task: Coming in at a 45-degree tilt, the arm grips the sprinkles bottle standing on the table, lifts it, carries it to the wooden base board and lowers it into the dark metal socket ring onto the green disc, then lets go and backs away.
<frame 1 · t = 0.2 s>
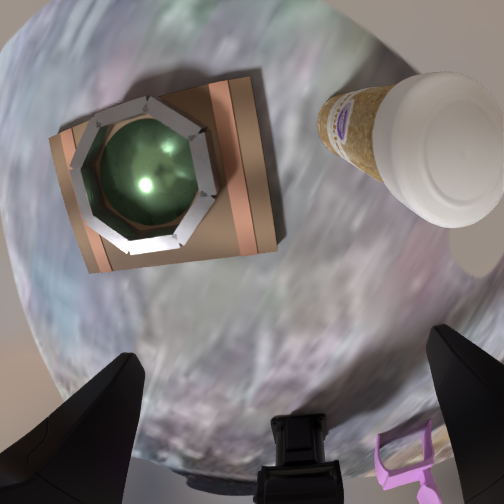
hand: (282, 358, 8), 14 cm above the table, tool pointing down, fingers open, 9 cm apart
wooden base board: (154, 183, 21), on the table
sprinkles bottle: (348, 126, 18), on the table
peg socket: (151, 170, 20), resting on wooden base board
toy chair: (400, 435, 34), on the table
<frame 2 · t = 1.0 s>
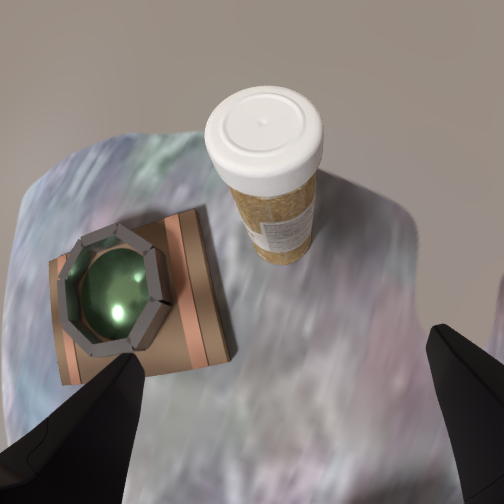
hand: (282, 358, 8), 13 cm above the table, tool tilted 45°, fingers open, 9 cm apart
wooden base board: (123, 306, 23), on the table
sprinkles bottle: (282, 238, 23), on the table
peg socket: (122, 295, 24), resting on wooden base board
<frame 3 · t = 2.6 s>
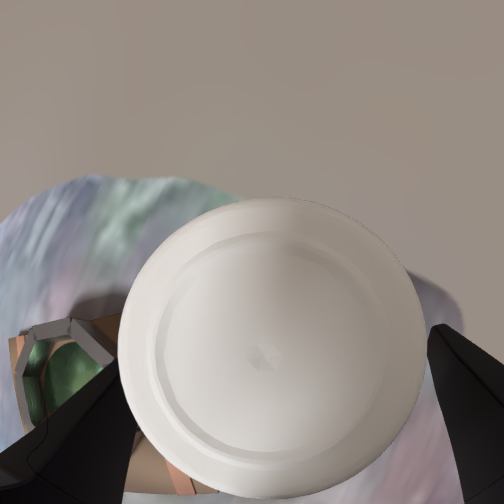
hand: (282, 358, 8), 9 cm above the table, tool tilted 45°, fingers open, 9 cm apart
wooden base board: (92, 409, 16), on the table
sprinkles bottle: (289, 345, 16), on the table
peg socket: (89, 396, 17), resting on wooden base board
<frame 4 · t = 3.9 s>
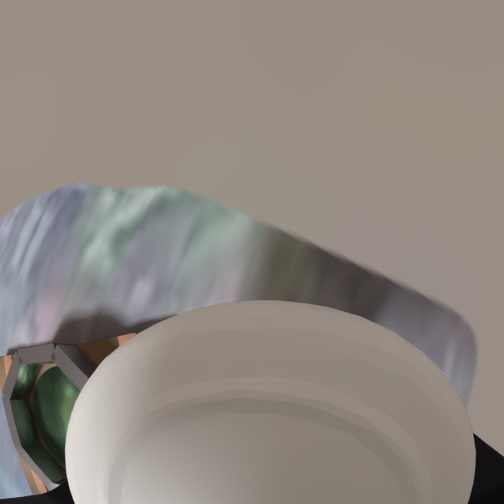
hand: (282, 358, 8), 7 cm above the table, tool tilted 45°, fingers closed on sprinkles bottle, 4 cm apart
wooden base board: (83, 434, 15), on the table
sprinkles bottle: (290, 376, 15), on the table, touching gripper
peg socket: (79, 420, 15), resting on wooden base board
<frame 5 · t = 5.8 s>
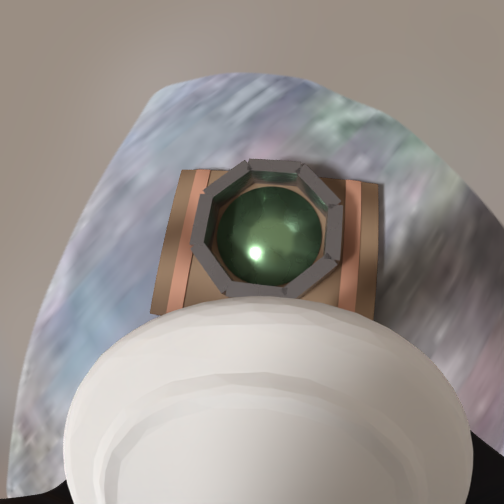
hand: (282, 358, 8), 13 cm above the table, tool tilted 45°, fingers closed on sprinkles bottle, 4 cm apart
wooden base board: (268, 251, 23), on the table
sprinkles bottle: (292, 375, 15), point 6 cm above the table, touching gripper
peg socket: (269, 238, 23), resting on wooden base board
when the fingers open (9 cm above the table, at t = 8.0 s): sprinkles bottle stays where it is, resting on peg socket.
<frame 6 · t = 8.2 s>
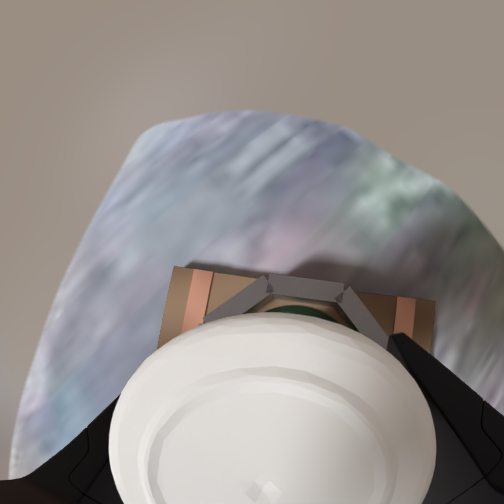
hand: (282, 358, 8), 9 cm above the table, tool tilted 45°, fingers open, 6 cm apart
wooden base board: (288, 388, 16), on the table
sprinkles bottle: (292, 377, 15), point 1 cm above the table, touching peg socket
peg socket: (291, 371, 16), resting on wooden base board
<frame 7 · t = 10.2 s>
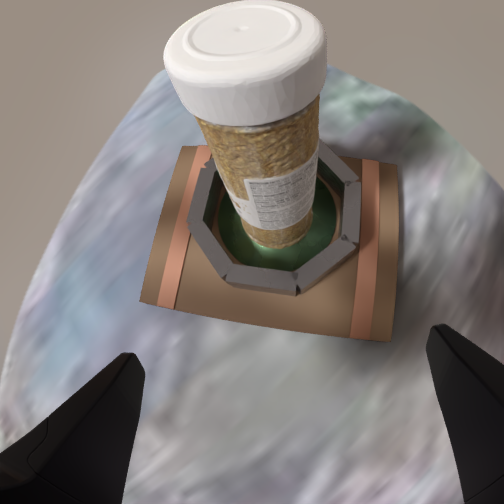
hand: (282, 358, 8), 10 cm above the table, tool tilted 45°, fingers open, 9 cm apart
wooden base board: (275, 234, 20), on the table
sprinkles bottle: (278, 218, 19), point 1 cm above the table, touching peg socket
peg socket: (277, 220, 20), resting on wooden base board
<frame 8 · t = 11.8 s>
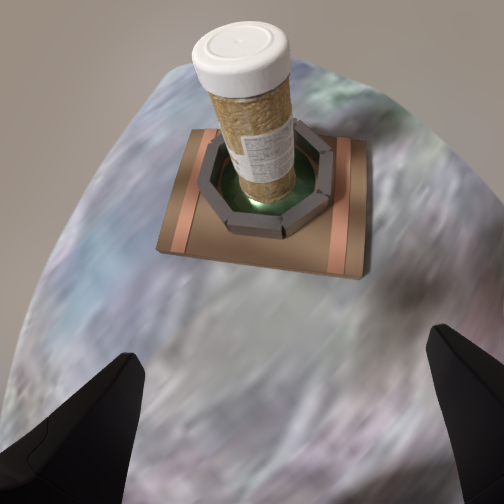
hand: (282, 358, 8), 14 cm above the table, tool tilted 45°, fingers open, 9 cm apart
wooden base board: (267, 195, 25), on the table
sprinkles bottle: (268, 182, 24), point 1 cm above the table, touching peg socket
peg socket: (268, 184, 25), resting on wooden base board
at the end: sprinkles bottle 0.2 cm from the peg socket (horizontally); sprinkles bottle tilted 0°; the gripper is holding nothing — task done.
